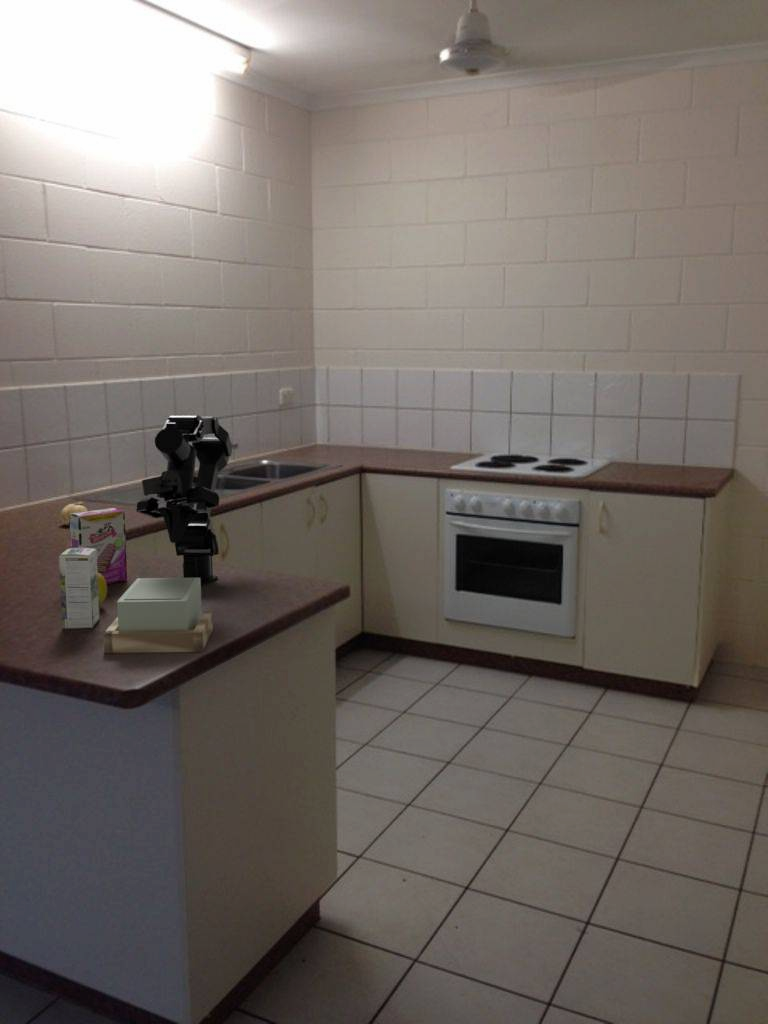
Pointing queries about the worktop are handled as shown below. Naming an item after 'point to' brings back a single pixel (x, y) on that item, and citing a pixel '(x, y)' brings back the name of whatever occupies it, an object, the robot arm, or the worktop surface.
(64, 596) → the syrup box
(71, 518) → the candy bar box
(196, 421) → the robot arm
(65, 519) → the onion
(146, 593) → the tub
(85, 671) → the worktop surface
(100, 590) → the lemon
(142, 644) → the wooden tray
